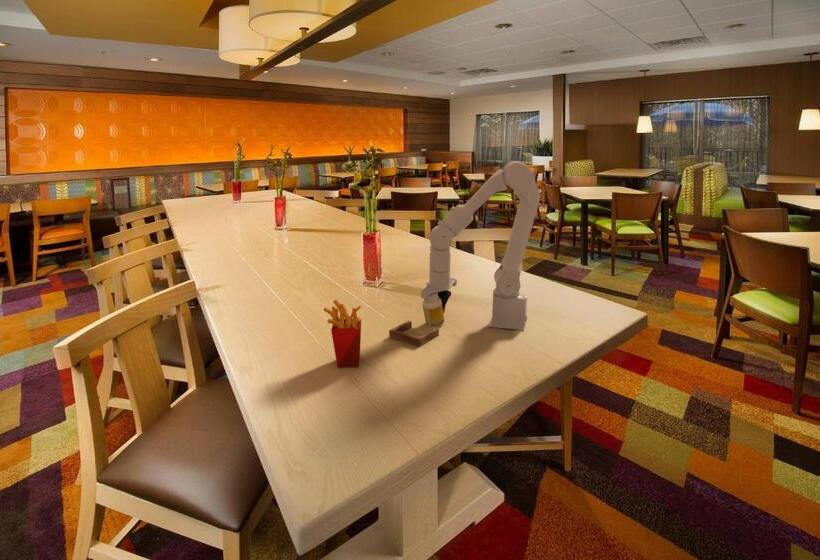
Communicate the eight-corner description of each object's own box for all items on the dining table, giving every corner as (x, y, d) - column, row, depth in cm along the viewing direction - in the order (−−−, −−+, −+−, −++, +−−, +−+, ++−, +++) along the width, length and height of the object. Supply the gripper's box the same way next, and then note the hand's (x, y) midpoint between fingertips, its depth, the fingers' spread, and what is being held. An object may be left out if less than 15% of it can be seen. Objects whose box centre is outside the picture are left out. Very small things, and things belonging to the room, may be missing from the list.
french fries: (364, 355, 116) (361, 297, 112) (362, 372, 108) (359, 309, 104) (327, 357, 116) (323, 298, 112) (322, 373, 108) (318, 310, 104)
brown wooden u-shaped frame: (408, 327, 133) (408, 320, 132) (438, 335, 127) (438, 328, 126) (389, 337, 126) (389, 330, 126) (419, 346, 121) (419, 339, 120)
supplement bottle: (422, 325, 135) (416, 297, 130) (433, 315, 138) (427, 287, 133) (438, 330, 132) (432, 301, 127) (448, 319, 135) (443, 290, 130)
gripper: (443, 261, 140) (441, 305, 144) (412, 272, 129) (411, 319, 133) (463, 265, 135) (461, 310, 140) (433, 278, 125) (432, 326, 129)
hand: (438, 315), depth 136 cm, fingers closed, pressing on supplement bottle
